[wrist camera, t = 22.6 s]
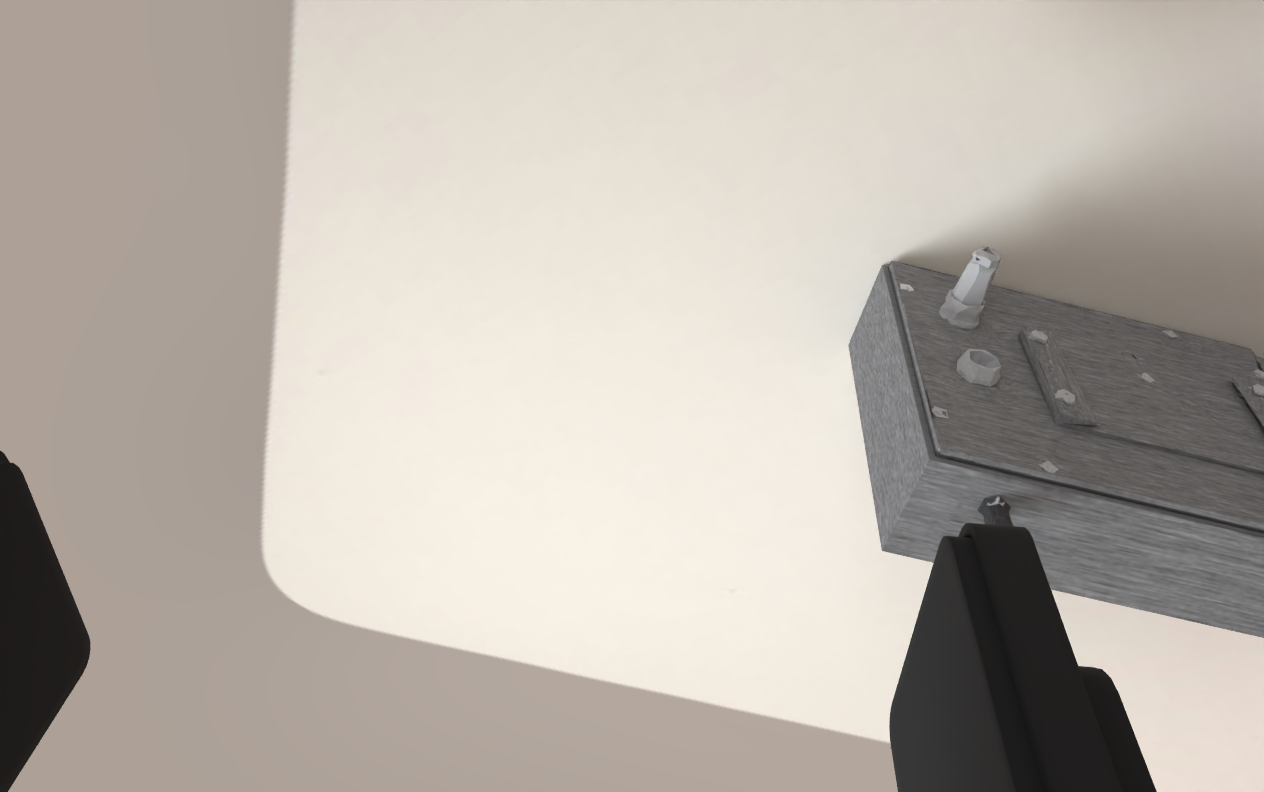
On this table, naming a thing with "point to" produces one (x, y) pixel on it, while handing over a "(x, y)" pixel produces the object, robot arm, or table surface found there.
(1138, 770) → the robot arm
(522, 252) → the table surface
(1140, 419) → the electronic device
